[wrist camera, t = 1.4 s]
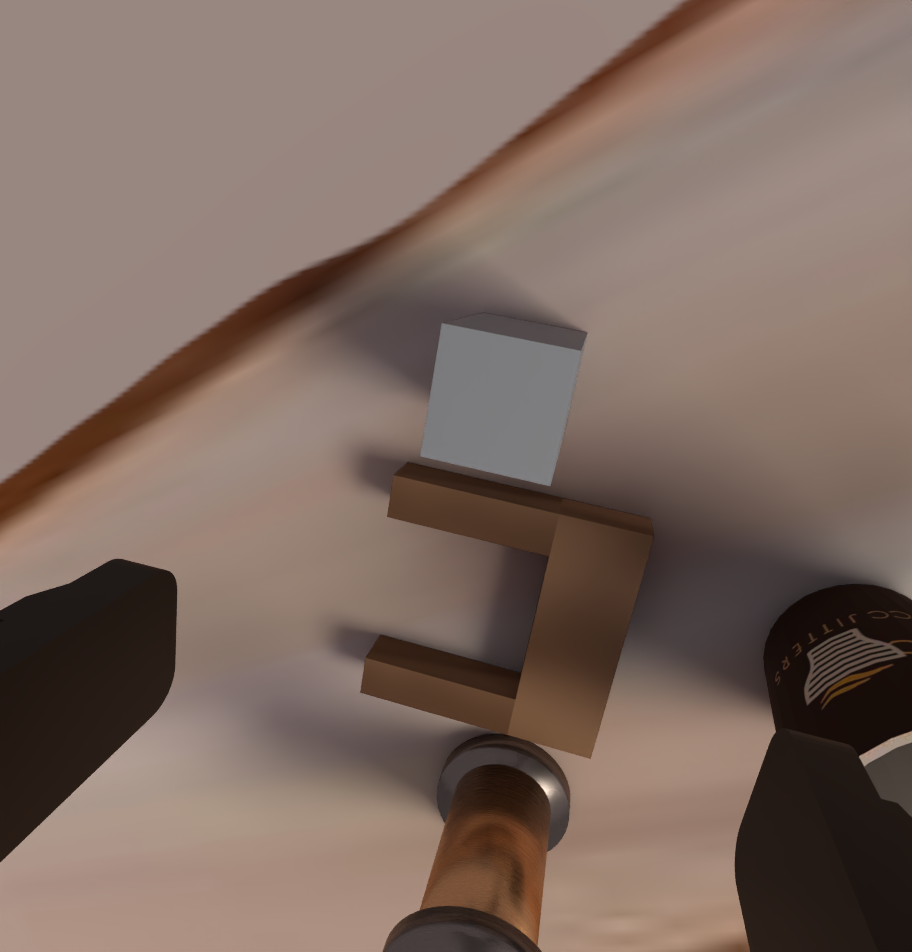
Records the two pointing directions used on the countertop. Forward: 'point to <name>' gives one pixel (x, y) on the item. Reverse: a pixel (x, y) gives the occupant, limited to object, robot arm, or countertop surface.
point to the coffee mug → (849, 678)
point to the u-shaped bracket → (556, 619)
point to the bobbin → (489, 850)
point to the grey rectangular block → (502, 395)
